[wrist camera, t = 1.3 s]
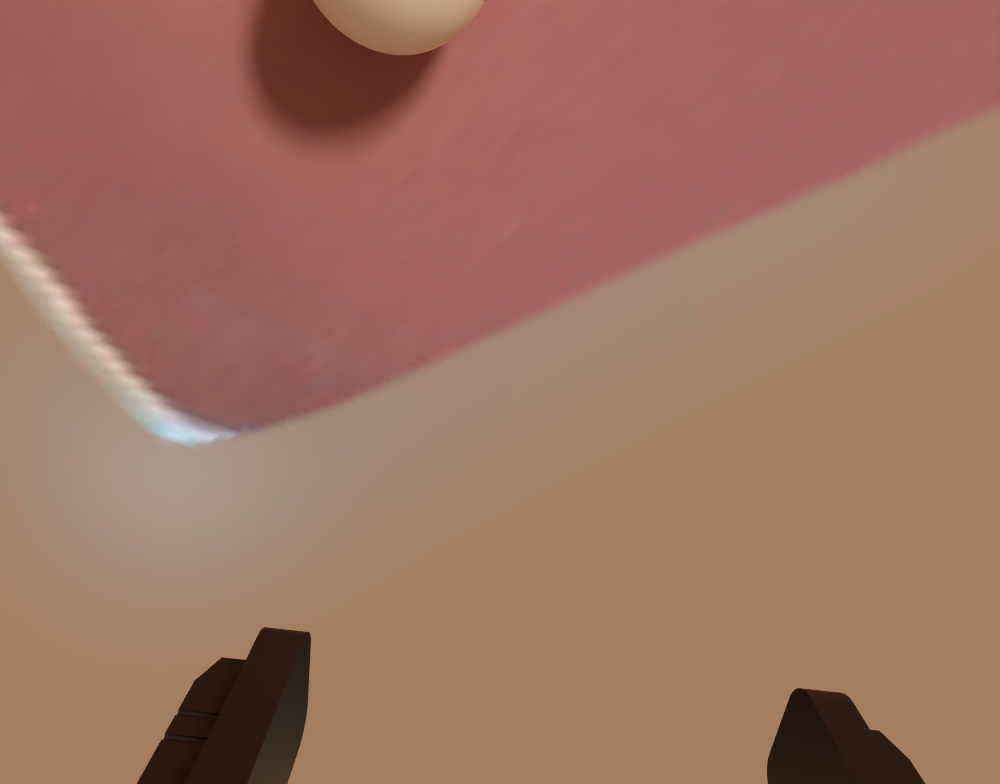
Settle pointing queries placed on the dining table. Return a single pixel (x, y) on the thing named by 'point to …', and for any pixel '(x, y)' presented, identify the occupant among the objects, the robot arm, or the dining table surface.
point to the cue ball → (400, 22)
